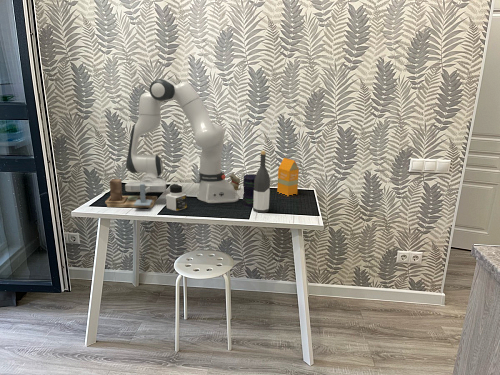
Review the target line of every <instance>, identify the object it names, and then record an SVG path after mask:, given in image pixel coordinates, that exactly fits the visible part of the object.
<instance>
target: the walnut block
mask: <svg viewBox="0 0 500 375" xmlns="http://www.w3.org/2000/svg"><path fill="white" fill-rule="evenodd" d="M109 192H110V196H111V201H122V200H123V199H122V196H123V186H122V179H121V178H111V180H109Z"/></svg>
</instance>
